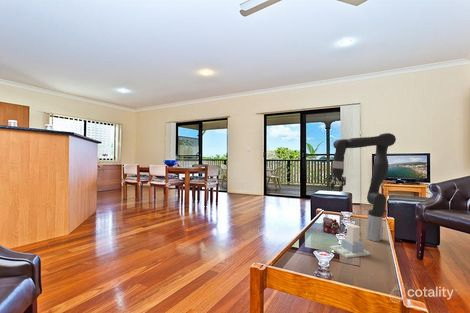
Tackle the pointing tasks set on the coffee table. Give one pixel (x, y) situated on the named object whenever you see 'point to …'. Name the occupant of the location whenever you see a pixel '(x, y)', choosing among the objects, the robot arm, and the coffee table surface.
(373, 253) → the coffee table surface
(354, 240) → the cream column brick
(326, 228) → the dark red irregular lump
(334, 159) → the robot arm
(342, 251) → the building plate
